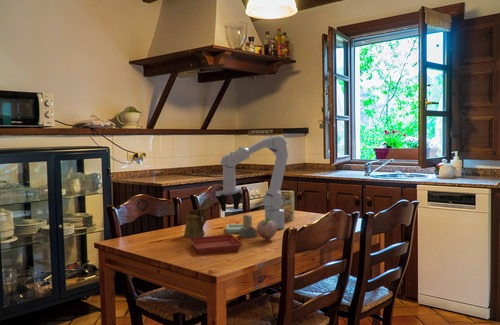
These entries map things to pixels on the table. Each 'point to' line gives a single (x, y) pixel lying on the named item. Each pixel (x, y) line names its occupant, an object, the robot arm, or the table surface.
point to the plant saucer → (216, 244)
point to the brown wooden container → (196, 221)
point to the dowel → (247, 222)
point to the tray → (233, 228)
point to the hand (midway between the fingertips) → (229, 210)
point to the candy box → (288, 205)
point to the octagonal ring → (247, 233)
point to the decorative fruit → (267, 228)
